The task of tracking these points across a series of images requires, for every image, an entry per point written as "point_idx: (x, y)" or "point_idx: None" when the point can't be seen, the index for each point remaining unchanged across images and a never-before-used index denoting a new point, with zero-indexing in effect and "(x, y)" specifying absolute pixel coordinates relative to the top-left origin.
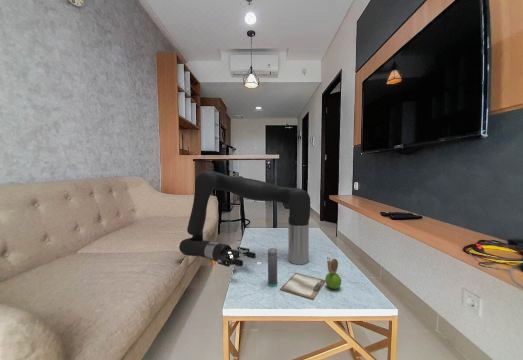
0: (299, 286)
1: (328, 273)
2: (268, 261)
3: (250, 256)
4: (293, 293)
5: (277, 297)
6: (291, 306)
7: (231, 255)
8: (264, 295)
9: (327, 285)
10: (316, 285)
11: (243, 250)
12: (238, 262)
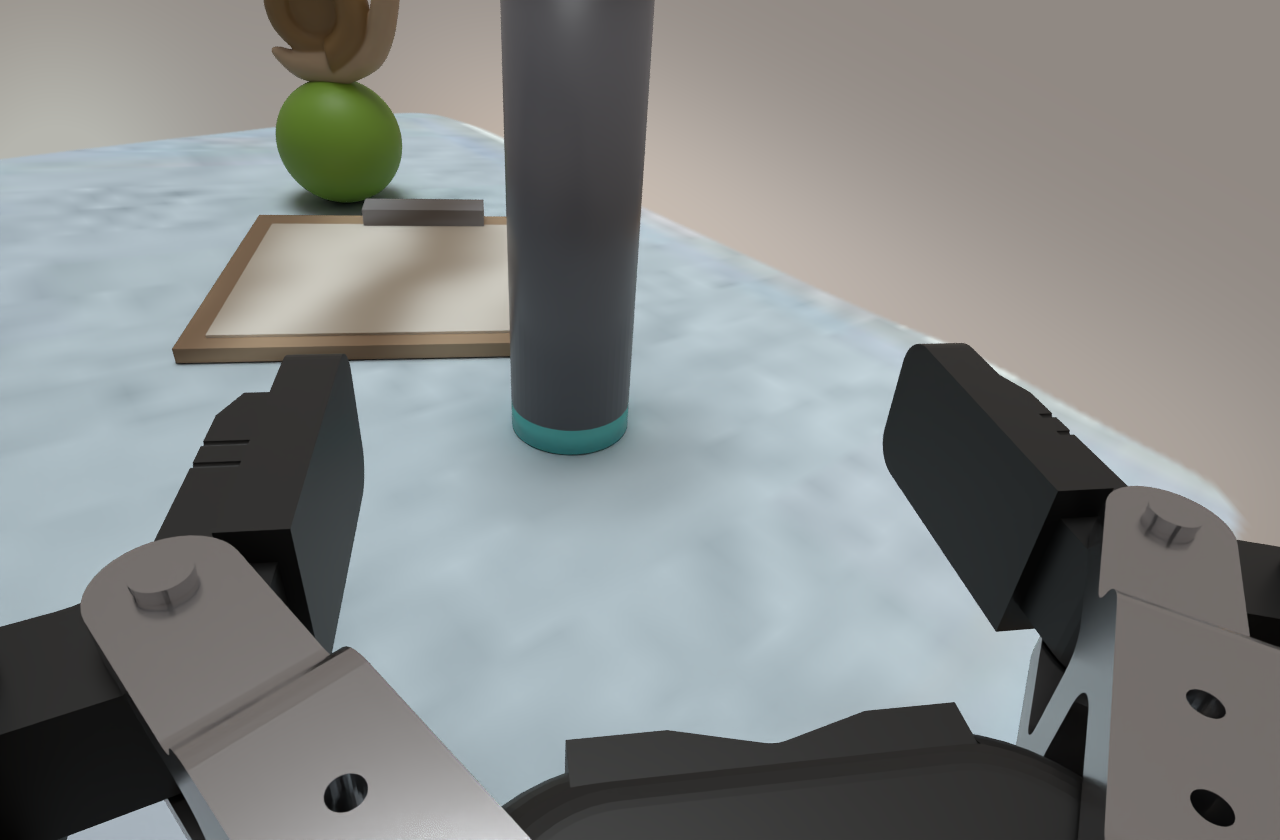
0: (479, 274)
1: (325, 102)
2: (641, 115)
3: (338, 540)
4: None
5: (734, 335)
6: (747, 269)
7: (1182, 618)
8: (802, 396)
9: (374, 187)
10: (421, 207)
11: (182, 714)
12: (1028, 400)
